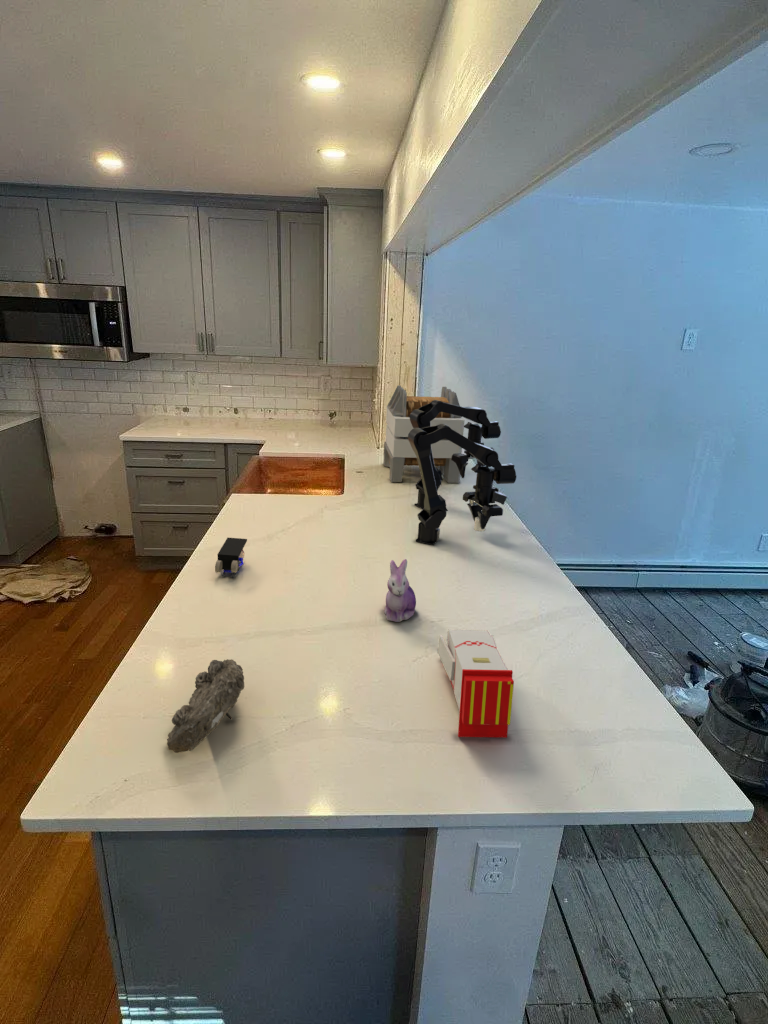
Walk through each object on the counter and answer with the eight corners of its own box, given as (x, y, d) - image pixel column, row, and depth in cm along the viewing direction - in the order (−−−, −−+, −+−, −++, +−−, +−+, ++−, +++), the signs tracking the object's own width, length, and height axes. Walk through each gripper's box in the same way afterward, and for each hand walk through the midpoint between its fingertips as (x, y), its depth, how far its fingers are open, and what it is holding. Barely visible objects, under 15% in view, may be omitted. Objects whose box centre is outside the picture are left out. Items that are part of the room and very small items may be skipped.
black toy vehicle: (238, 584, 162) (249, 557, 175) (236, 562, 158) (247, 536, 172) (215, 584, 161) (227, 556, 175) (212, 561, 158) (225, 535, 171)
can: (487, 530, 198) (488, 519, 197) (479, 532, 196) (480, 521, 195) (480, 526, 201) (481, 515, 200) (471, 528, 199) (472, 517, 198)
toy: (488, 613, 130) (523, 677, 101) (484, 667, 133) (517, 744, 104) (435, 612, 130) (455, 676, 101) (432, 666, 133) (451, 743, 103)
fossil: (192, 660, 117) (244, 628, 112) (224, 691, 120) (276, 661, 115) (142, 746, 98) (202, 712, 93) (182, 779, 101) (242, 748, 96)
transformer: (382, 463, 289) (386, 382, 275) (445, 464, 293) (451, 384, 279) (390, 482, 257) (394, 392, 243) (460, 483, 261) (468, 394, 247)
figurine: (392, 627, 141) (395, 572, 136) (374, 608, 149) (376, 556, 144) (425, 619, 145) (429, 566, 140) (405, 601, 154) (408, 550, 149)
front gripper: (519, 490, 188) (513, 534, 193) (491, 475, 204) (487, 516, 209) (489, 493, 184) (484, 537, 189) (463, 476, 200) (460, 518, 206)
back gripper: (471, 445, 216) (467, 484, 222) (505, 441, 227) (501, 478, 232) (452, 439, 225) (448, 477, 230) (486, 435, 235) (482, 471, 240)
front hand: (479, 526), depth 198 cm, fingers closed on can, 4 cm apart
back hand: (471, 476), depth 233 cm, fingers open, 9 cm apart
